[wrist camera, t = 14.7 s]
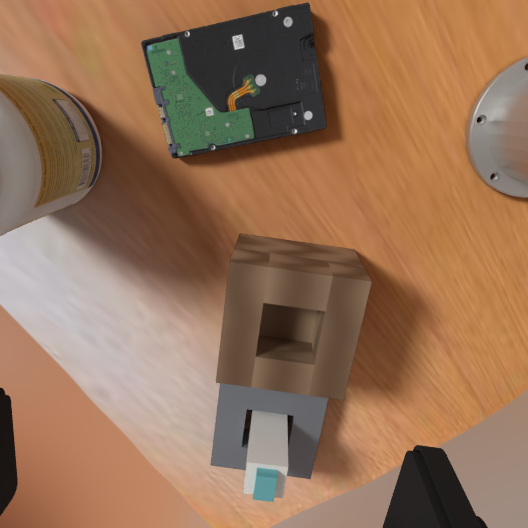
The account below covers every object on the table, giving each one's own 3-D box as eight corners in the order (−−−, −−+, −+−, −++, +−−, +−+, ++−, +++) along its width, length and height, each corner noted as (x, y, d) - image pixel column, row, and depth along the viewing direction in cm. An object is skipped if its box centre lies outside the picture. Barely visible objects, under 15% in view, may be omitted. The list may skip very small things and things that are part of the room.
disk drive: (306, 6, 37) (146, 45, 39) (309, -2, 35) (137, 40, 36) (325, 127, 40) (177, 159, 42) (329, 128, 38) (170, 162, 39)
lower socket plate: (326, 379, 49) (328, 395, 46) (308, 459, 53) (310, 479, 50) (224, 365, 49) (220, 380, 46) (214, 446, 53) (210, 465, 50)
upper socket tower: (354, 249, 44) (371, 281, 35) (332, 349, 48) (343, 400, 39) (239, 233, 44) (229, 261, 35) (227, 335, 48) (215, 382, 39)
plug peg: (287, 401, 50) (288, 475, 40) (282, 428, 52) (282, 506, 41) (253, 397, 50) (246, 470, 40) (250, 424, 52) (242, 501, 41)
